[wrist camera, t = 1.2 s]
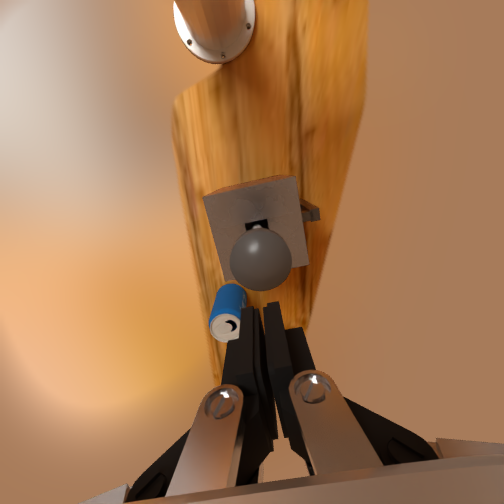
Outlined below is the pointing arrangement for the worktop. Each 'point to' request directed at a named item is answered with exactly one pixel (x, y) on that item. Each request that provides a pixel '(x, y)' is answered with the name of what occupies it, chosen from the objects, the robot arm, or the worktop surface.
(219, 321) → the beverage can
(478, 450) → the robot arm
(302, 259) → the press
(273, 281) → the plunger
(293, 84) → the worktop surface
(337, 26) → the worktop surface
